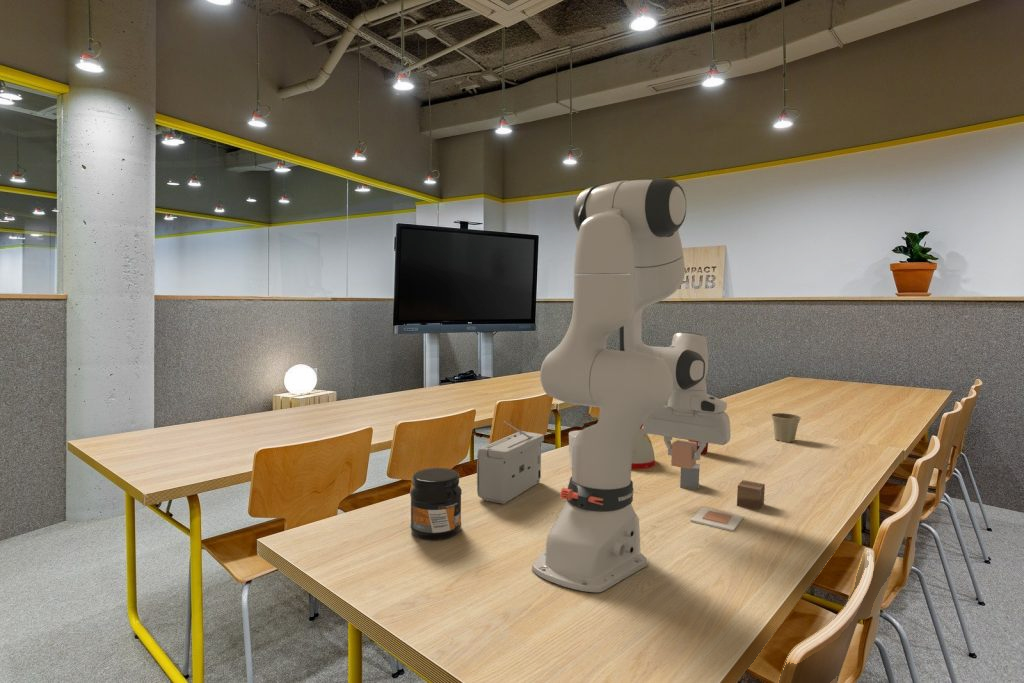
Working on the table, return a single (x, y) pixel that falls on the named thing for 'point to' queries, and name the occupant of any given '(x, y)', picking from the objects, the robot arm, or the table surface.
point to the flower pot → (785, 426)
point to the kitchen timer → (642, 451)
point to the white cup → (571, 439)
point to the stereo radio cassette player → (509, 466)
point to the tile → (717, 519)
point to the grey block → (690, 477)
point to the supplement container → (435, 503)
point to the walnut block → (750, 495)
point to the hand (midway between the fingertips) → (683, 457)
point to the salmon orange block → (683, 454)
